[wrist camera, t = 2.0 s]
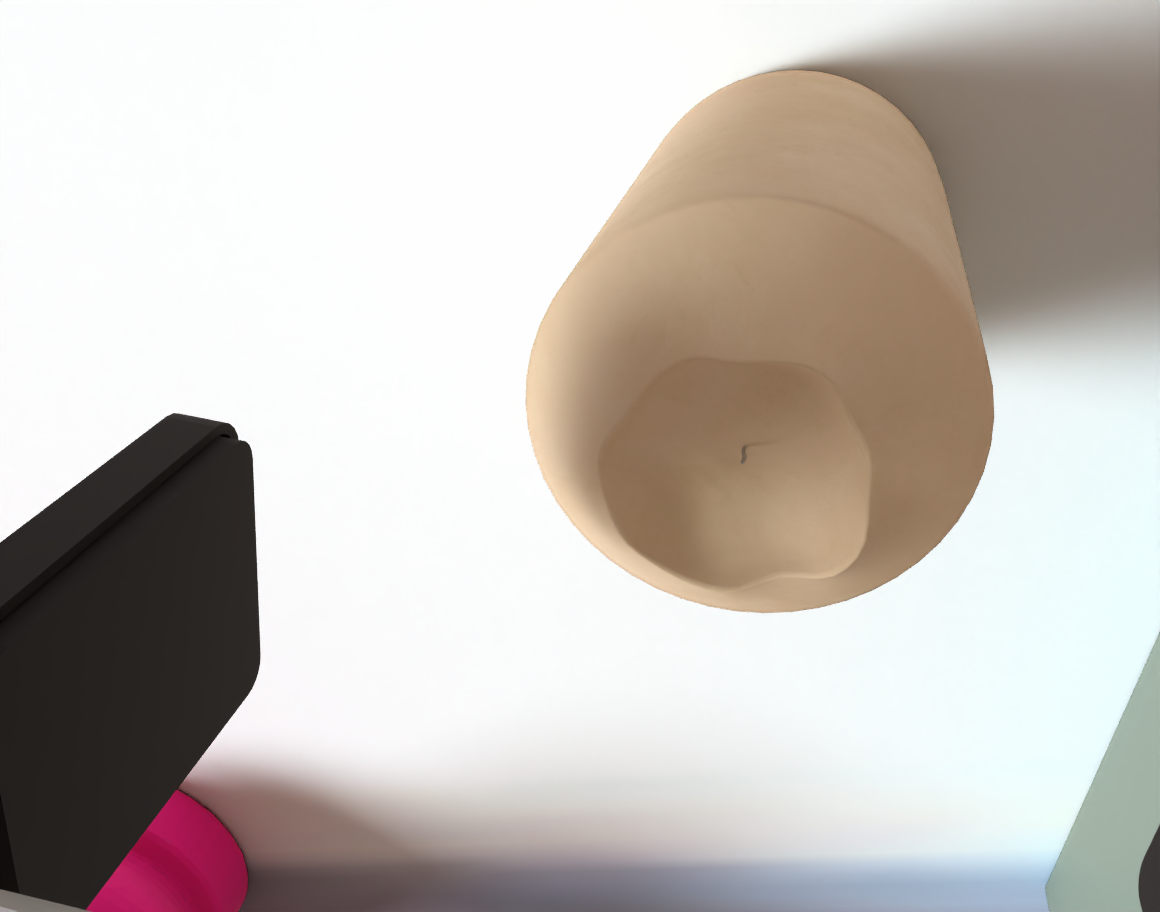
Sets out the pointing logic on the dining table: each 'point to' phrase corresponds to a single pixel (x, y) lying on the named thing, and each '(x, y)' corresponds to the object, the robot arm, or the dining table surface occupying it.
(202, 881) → the pepper mill
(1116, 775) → the green boxy piece
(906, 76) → the dining table surface
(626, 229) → the candle
